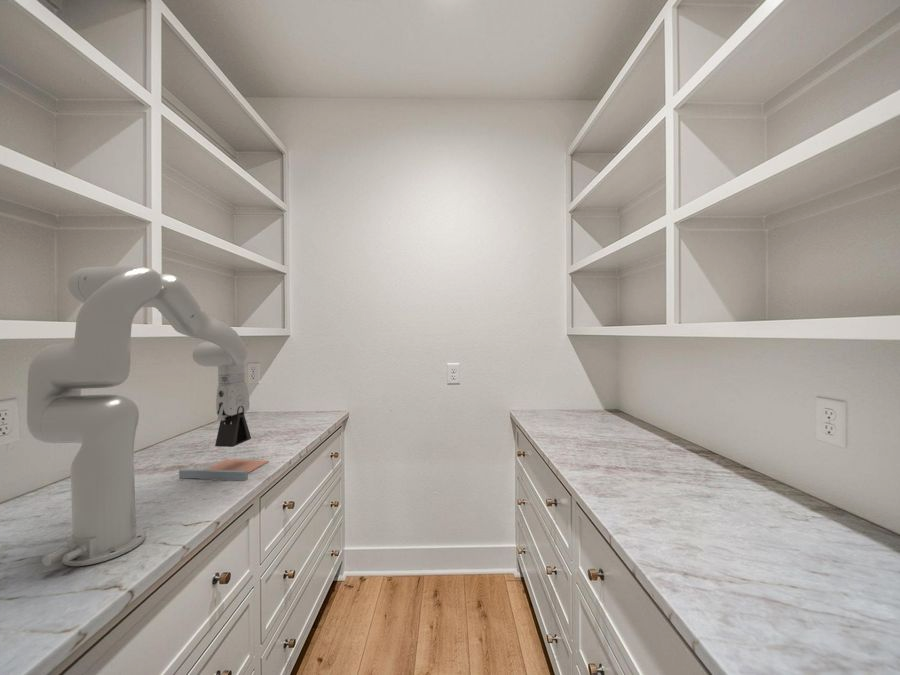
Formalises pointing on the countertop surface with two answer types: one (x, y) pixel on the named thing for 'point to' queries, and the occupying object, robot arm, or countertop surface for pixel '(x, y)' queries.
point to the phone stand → (233, 432)
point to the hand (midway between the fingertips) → (233, 434)
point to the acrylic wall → (214, 474)
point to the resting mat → (238, 465)
